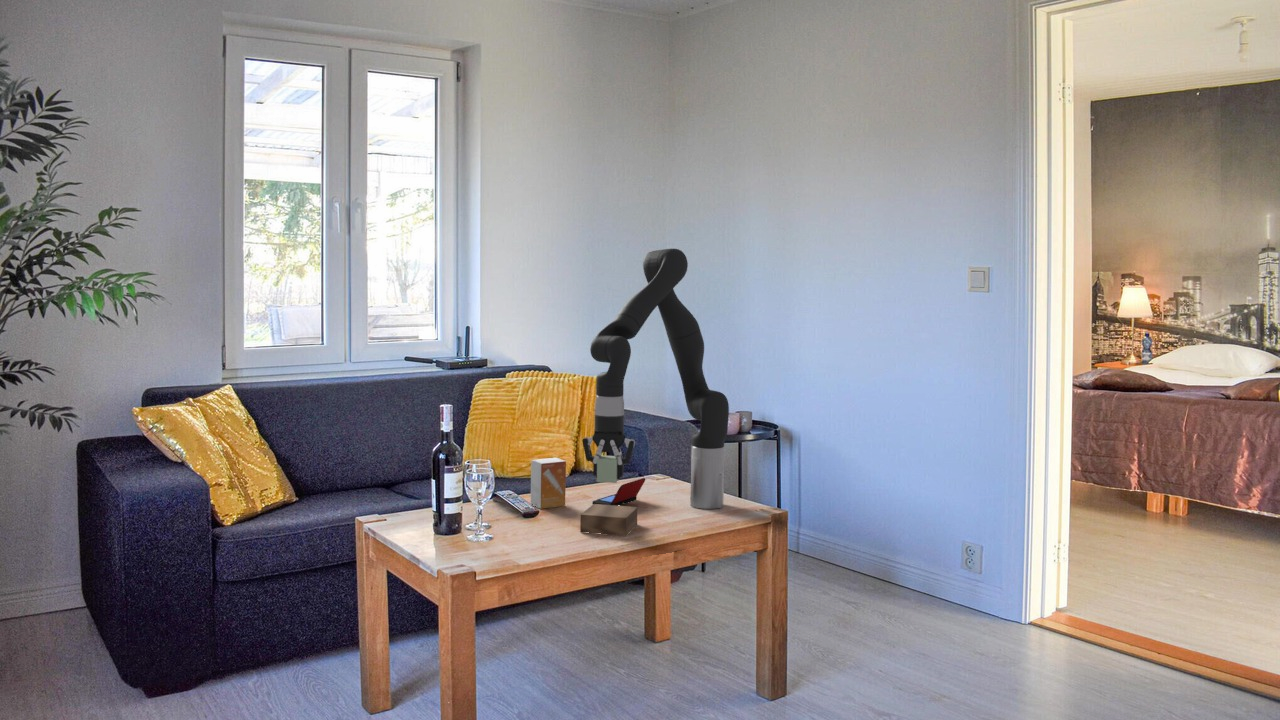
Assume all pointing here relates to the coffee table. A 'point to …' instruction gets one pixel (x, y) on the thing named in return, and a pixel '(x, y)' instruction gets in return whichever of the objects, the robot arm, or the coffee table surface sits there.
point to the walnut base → (608, 519)
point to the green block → (607, 469)
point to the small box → (548, 482)
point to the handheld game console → (622, 494)
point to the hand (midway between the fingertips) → (608, 477)
